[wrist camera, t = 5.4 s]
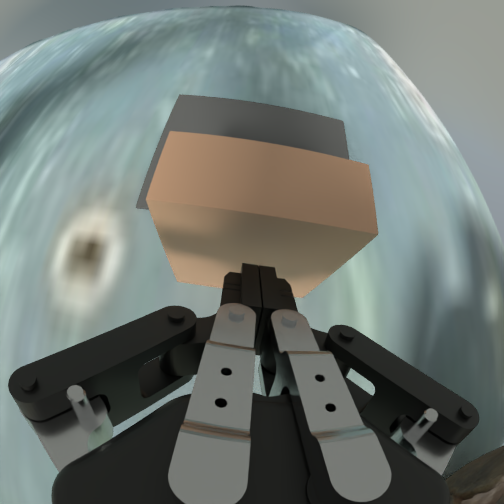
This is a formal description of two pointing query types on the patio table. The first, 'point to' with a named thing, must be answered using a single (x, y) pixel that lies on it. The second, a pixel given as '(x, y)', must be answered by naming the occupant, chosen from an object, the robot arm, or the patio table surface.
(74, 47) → the patio table surface
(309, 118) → the charcoal mat
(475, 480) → the clay pot
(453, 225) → the patio table surface
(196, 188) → the peach block
